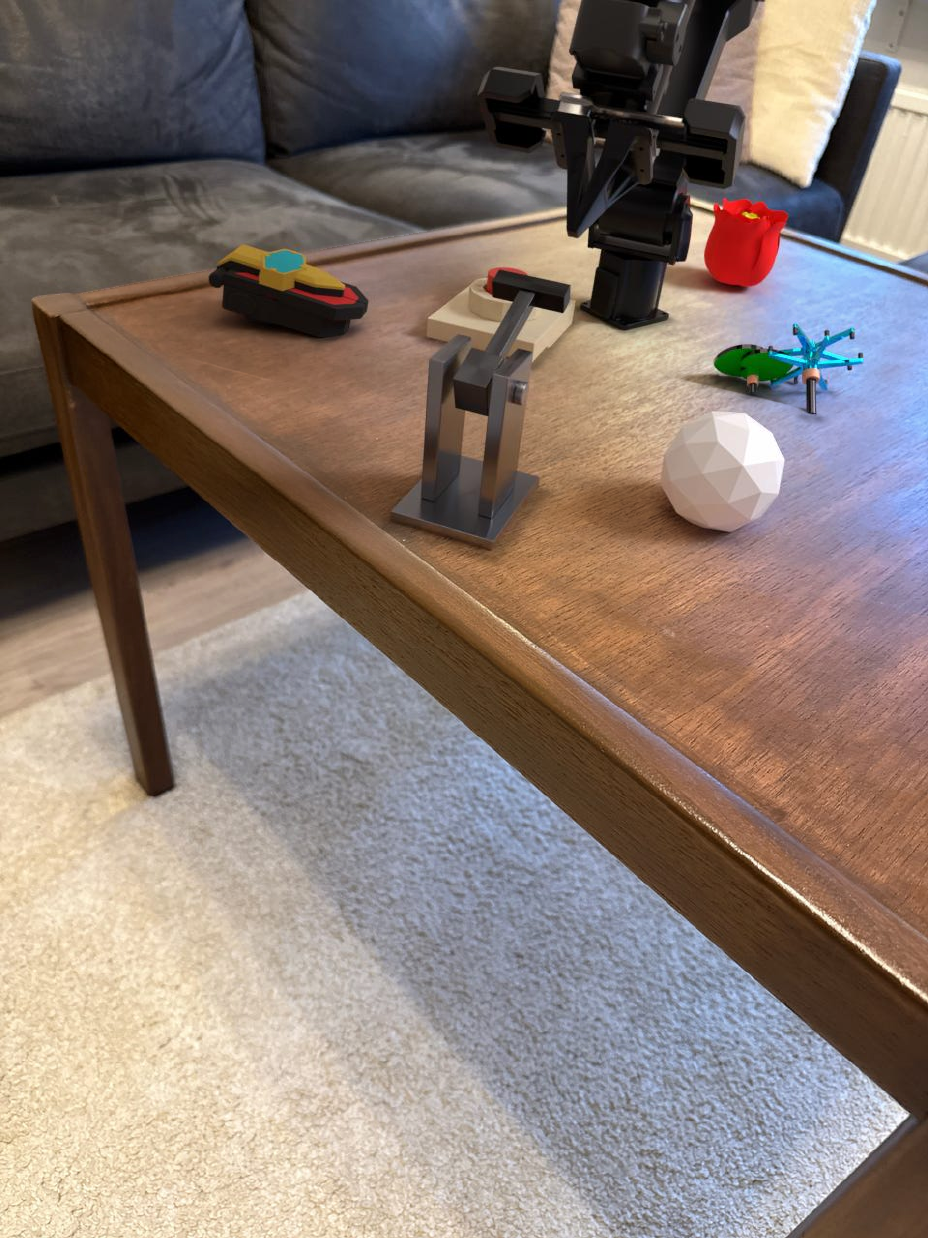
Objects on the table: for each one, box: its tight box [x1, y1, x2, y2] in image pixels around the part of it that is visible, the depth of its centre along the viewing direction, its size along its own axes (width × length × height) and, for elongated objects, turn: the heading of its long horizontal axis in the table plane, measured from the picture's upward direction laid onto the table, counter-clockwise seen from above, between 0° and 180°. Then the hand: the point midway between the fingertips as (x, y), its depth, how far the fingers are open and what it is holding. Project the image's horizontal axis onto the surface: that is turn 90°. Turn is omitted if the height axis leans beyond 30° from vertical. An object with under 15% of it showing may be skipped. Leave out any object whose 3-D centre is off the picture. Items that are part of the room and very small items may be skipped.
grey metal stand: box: [390, 334, 541, 551], centre depth 60 cm, size 9×7×11 cm
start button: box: [486, 266, 528, 295], centre depth 85 cm, size 4×4×2 cm
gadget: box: [208, 243, 370, 338], centre depth 84 cm, size 6×13×6 cm, turn 78°
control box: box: [425, 276, 577, 363], centre depth 86 cm, size 12×10×4 cm
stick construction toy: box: [713, 323, 864, 416], centre depth 80 cm, size 12×7×8 cm
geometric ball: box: [659, 410, 786, 533], centre depth 62 cm, size 8×8×8 cm
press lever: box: [453, 269, 572, 417], centre depth 60 cm, size 11×5×2 cm, turn 158°
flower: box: [703, 197, 789, 288], centre depth 101 cm, size 8×8×8 cm
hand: (572, 233), depth 67 cm, fingers closed
